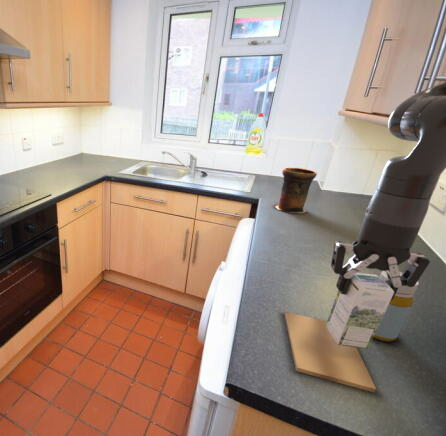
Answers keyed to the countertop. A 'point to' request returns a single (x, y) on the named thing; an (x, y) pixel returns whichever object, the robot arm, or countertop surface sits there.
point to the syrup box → (359, 311)
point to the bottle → (395, 312)
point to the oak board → (325, 353)
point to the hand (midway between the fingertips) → (362, 295)
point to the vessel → (295, 189)
